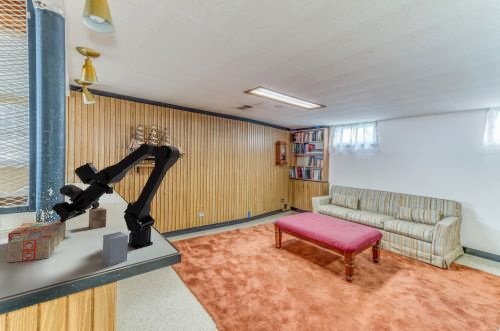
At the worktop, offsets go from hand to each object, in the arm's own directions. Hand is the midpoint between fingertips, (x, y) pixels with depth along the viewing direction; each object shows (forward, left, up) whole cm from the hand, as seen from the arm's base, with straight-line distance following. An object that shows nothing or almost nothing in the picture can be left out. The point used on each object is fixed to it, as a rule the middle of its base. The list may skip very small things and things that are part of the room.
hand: (61, 221), depth 85 cm
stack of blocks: (+2, +8, -3) cm, 9 cm away
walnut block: (-15, -7, -7) cm, 18 cm away
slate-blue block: (-5, +33, -7) cm, 34 cm away
